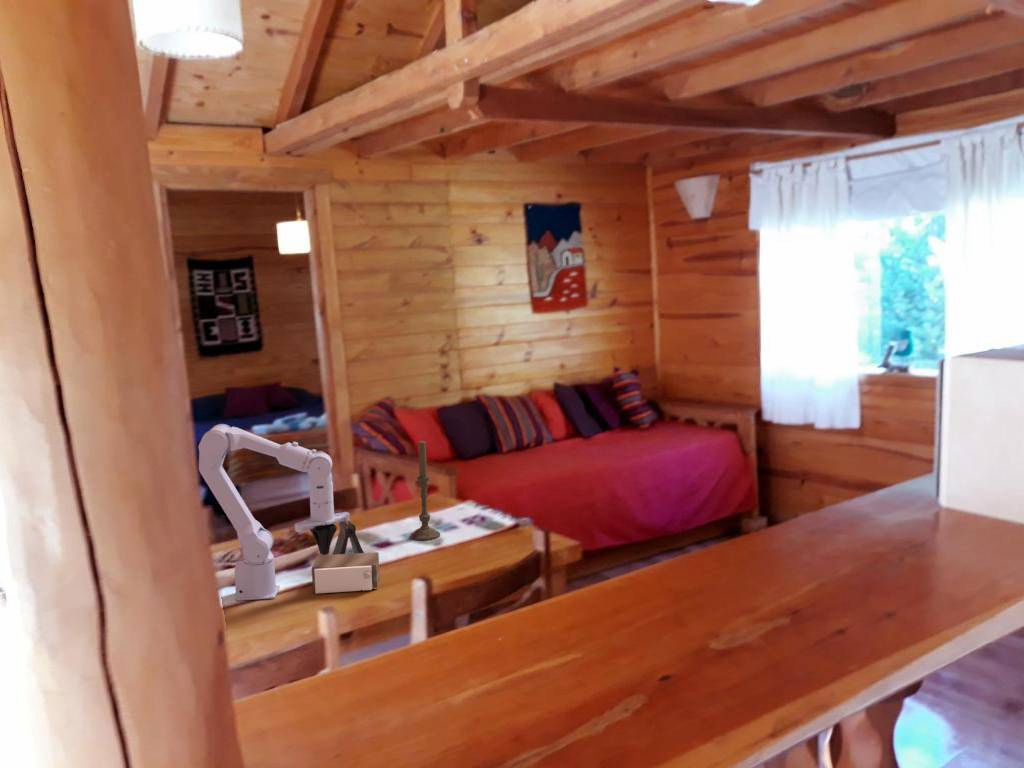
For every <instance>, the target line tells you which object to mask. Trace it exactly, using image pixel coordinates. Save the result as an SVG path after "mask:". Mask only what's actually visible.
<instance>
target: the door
mask: <svg viewBox="0 0 1024 768" xmlns="http://www.w3.org/2000/svg"><path fill="white" fill-rule="evenodd" d="M314 574H315V592H316V593H315V594H327V593H342V592H343V593H345V592H359V591H361V590H362V591H373V590H372V568H371V565H370V566H354V567H338V568H322V569H315V570H314Z"/></svg>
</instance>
